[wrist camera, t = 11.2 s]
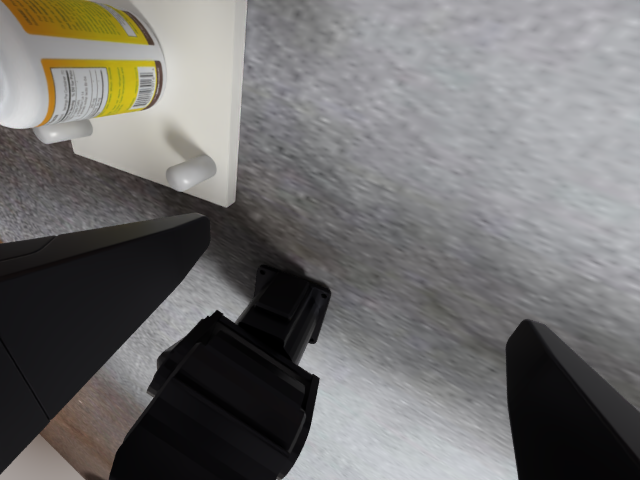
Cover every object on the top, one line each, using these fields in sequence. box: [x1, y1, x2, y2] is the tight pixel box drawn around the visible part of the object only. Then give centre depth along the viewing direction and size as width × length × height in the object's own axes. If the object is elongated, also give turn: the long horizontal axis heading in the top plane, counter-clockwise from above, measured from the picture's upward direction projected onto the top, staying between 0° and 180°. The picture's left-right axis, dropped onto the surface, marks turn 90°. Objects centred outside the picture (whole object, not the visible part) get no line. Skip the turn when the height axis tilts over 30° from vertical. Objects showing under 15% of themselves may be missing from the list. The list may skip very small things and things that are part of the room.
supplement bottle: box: [0, 0, 167, 129], centre depth 15 cm, size 6×6×10 cm
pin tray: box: [32, 0, 247, 208], centre depth 18 cm, size 16×14×4 cm
